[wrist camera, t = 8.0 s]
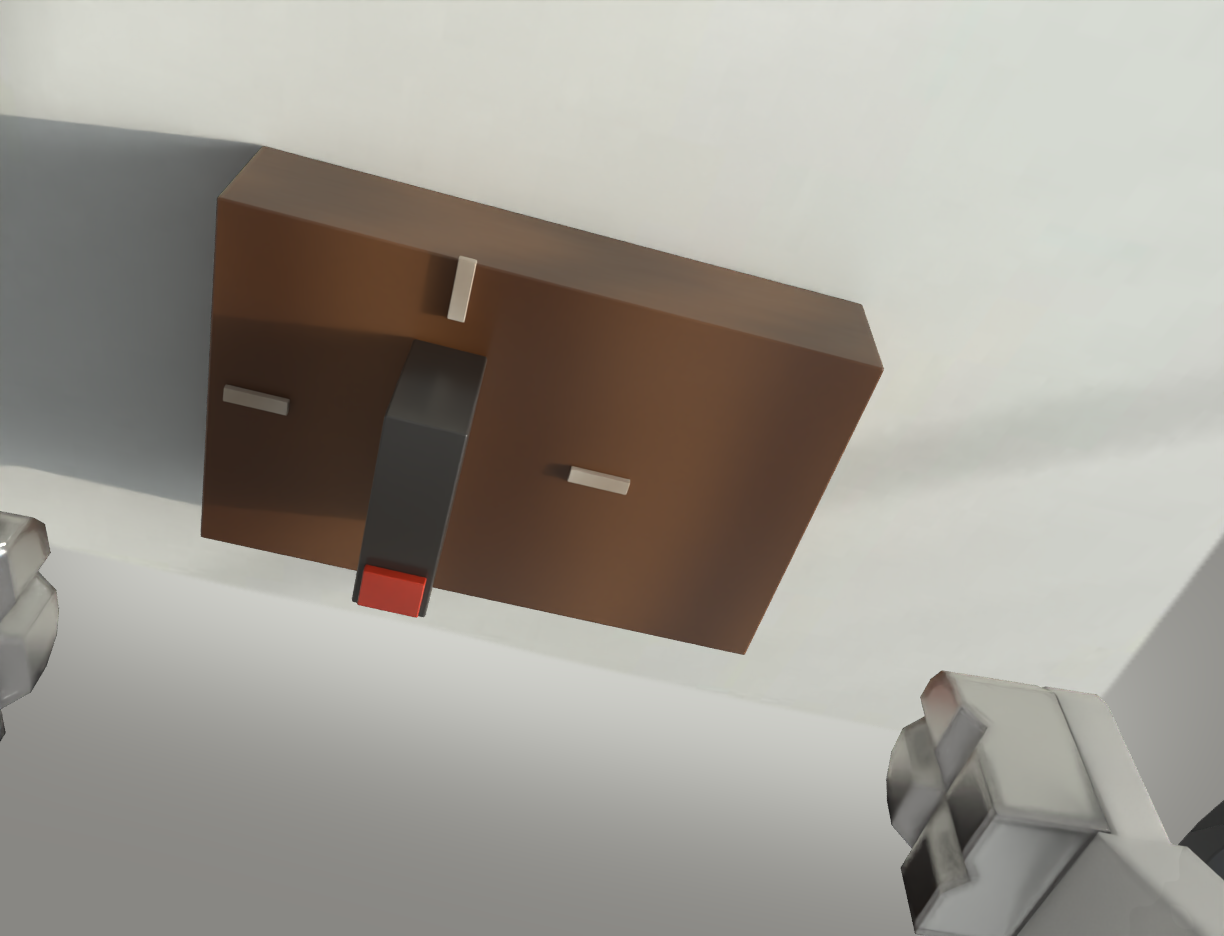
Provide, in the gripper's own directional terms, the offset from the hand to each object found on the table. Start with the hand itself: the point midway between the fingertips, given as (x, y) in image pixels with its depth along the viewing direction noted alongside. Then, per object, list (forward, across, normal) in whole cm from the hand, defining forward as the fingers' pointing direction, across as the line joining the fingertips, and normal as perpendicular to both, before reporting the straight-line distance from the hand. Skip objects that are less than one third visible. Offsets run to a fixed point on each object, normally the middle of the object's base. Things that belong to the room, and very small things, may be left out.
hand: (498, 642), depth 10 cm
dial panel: (+16, 0, +7) cm, 17 cm away
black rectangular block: (+13, +2, +7) cm, 15 cm away
